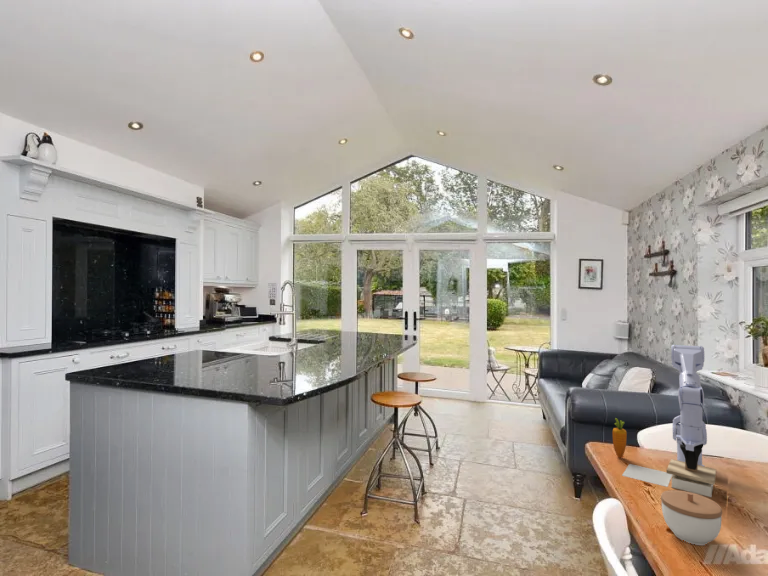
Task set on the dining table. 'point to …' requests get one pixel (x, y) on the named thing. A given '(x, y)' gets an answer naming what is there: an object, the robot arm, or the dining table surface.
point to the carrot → (619, 438)
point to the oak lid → (692, 471)
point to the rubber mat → (647, 475)
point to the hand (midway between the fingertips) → (692, 467)
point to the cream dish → (692, 485)
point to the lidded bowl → (691, 516)
